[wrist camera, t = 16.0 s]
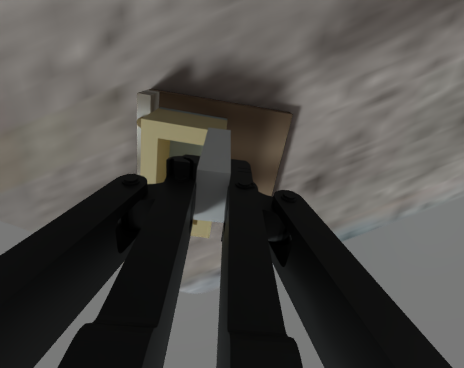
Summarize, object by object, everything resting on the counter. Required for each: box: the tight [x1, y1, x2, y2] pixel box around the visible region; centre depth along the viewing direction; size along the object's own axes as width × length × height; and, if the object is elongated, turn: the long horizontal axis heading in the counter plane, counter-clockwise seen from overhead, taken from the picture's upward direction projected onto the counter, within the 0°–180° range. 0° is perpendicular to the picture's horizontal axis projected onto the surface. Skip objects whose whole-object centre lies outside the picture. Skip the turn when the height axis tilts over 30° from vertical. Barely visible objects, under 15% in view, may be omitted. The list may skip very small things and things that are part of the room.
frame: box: [140, 107, 227, 238], centre depth 25 cm, size 11×7×6 cm, turn 170°
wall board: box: [137, 89, 293, 196], centre depth 27 cm, size 13×15×5 cm
